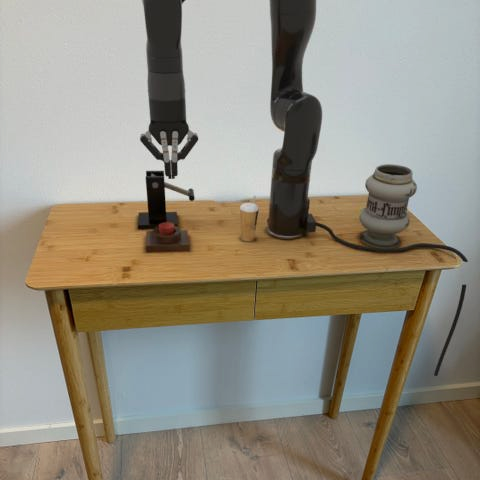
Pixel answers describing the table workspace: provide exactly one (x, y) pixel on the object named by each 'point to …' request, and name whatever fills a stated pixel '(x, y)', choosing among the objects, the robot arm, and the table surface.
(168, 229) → the button
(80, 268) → the table surface
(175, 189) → the switch lever
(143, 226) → the switch bracket
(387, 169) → the apothecary jar
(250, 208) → the milkshake
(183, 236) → the button block
